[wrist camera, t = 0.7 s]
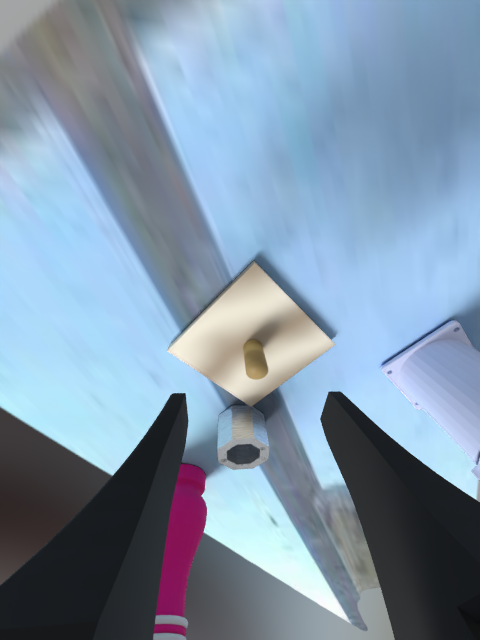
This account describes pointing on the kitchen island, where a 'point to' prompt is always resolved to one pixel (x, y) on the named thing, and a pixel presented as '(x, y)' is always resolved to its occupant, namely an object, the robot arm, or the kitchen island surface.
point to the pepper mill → (180, 552)
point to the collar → (242, 437)
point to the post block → (251, 338)
